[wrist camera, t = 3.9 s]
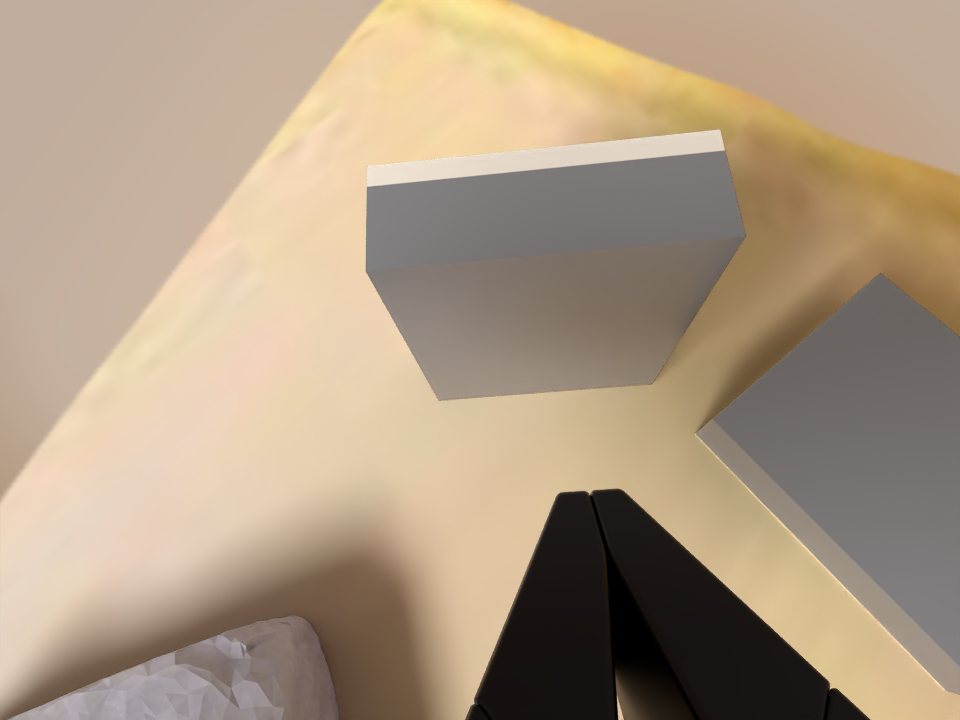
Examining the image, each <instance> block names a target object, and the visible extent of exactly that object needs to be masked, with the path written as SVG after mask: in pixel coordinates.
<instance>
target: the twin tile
mask: <svg viewBox="0 0 960 720" xmlns="http://www.w3.org/2000/svg"><path fill="white" fill-rule="evenodd" d="M695 435H696V436H697V437H698V438H699V439H700V440H701V441H702V442H703V443H704V444H705V445H706V446H707V447H708V448H709V449H710V450H711V452H712V453H713V454H714V455H715V456H716V457H717V458H718V459H719V460H720V461H721V462H722V463H723V464H724V465H725V466H726V467H727V468H728V469H729V470H730V471H731V472H732V473H733V474H734V475H735V476H736V477H737V478H738V479H739V480H740V481H741V482H742V483H743V484H744V485H745V486H746V487H747V488H748V489H749V490H750V491H751V492H752V493H753V494H754V496H755V497H756V498H757V499H758V500H759V501H760V502H761V503H762V504H763V505H764V506H765V507H766V508H767V509H768V510H769V511H770V512H771V513H772V514H773V515H774V516H775V517H776V518H777V519H778V520H779V521H780V522H781V523H782V524H783V525H784V526H785V527H786V528H787V529H788V530H789V531H790V532H791V533H792V534H793V535H794V536H795V537H796V538H797V540H798V541H799V542H800V543H801V544H802V545H803V546H804V547H805V548H806V549H807V550H808V551H809V552H810V553H811V554H812V555H813V556H814V557H815V558H816V559H817V560H818V561H819V562H820V563H821V564H822V565H823V566H824V567H825V568H826V569H827V570H828V571H829V572H830V573H831V574H832V575H833V576H834V577H835V578H836V579H837V580H838V581H839V582H840V584H841V585H842V586H843V587H844V588H845V589H846V590H847V591H848V592H849V593H850V594H851V595H852V596H853V597H854V598H855V599H856V600H857V601H858V602H859V603H860V604H861V605H862V606H863V607H864V608H865V609H866V610H867V611H868V612H869V613H870V614H871V615H872V616H873V617H874V618H875V619H876V620H877V621H878V622H879V623H880V624H881V625H882V626H883V628H884V629H885V630H886V631H887V632H888V633H889V634H890V635H891V636H892V637H893V638H894V639H895V640H896V641H897V642H898V643H899V644H900V645H901V646H902V647H903V648H904V649H905V650H906V651H907V652H908V653H909V654H910V655H911V656H912V657H913V658H914V659H915V660H916V661H917V662H918V663H919V664H920V665H921V666H922V667H923V668H924V669H925V670H926V672H927V673H928V674H929V675H930V676H931V677H932V678H933V679H934V680H935V681H936V682H937V683H938V684H939V685H940V686H941V687H942V688H943V689H944V690H946V691H949V692H953V693H956V694H959V695H960V336H958V335H957V334H956V333H955V332H953V331H952V330H951V329H950V328H948V327H947V326H946V325H945V324H943V323H942V322H941V321H940V320H938V319H937V318H936V317H935V316H933V315H932V314H931V313H930V312H928V311H927V310H926V309H925V308H923V307H922V306H921V305H920V304H918V303H917V302H916V301H915V300H913V299H912V298H911V297H910V296H908V295H907V294H906V293H905V292H903V291H902V290H901V289H900V288H898V287H897V286H896V285H895V284H893V283H892V282H891V281H890V280H888V279H887V278H886V277H885V276H883V275H882V274H881V273H880V274H878V275H877V276H876V277H875V278H874V279H873V280H871V281H870V282H869V283H868V284H867V285H865V286H864V287H863V288H862V289H861V290H860V291H858V292H857V293H856V294H855V295H854V296H853V297H851V298H850V299H849V300H848V301H847V302H845V303H844V304H843V305H842V306H841V307H840V308H839V309H837V310H836V311H835V312H834V313H833V314H832V315H831V316H829V317H828V318H827V319H826V320H825V321H824V322H823V323H821V324H820V325H819V326H818V327H817V328H816V329H815V330H813V331H812V332H811V333H810V334H809V335H808V336H806V337H805V338H804V339H803V340H802V341H801V342H800V343H798V344H797V345H796V346H795V347H794V348H793V349H792V350H790V351H789V352H788V353H787V354H786V355H785V356H784V357H782V358H781V359H780V360H779V361H778V362H777V363H776V364H774V365H773V366H772V367H771V368H770V369H769V370H768V371H766V372H765V373H764V374H763V375H762V376H761V377H759V378H758V379H757V380H756V381H755V382H754V383H753V384H751V385H750V386H749V387H748V388H747V389H746V390H745V391H743V392H742V393H741V394H740V395H739V396H738V397H737V398H735V399H734V400H733V401H732V402H731V403H730V404H729V405H727V406H726V407H725V408H724V409H723V410H722V411H720V412H719V413H718V414H717V415H716V416H715V417H714V418H712V419H711V420H710V421H709V422H708V423H707V424H706V425H704V426H703V427H702V428H701V429H700V430H699V431H698V432H696V433H695Z"/></svg>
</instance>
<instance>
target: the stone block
mask: <svg viewBox="0 0 960 720" xmlns="http://www.w3.org/2000/svg"><path fill="white" fill-rule="evenodd" d="M5 720H339V708H338V704H337V702H336V693H335V689H334V685H333V683H332V679H331V675H330V672H329V668H328V665H327V662H326V659H325V657H324V654H323V651H322V649H321V646H320V641H319V637H318V635H317V634H316V632H315V631H314V629H313V627H312V625H311V624H310V623H309V622H308V621H307V620H306V619H304V618H302V617H299V616H294V615H290V616H287V617H283V618H272V619H269V620H266V621H265V620H261V621H257V622H254V623H252V624H249V625H246V626H242V627H239V628H236V629H231V630H227V631H225V632H223V633H221V634H219V635H216V636H214V637H211V638H209V639H206V640H203V641H200V642H197V643H195V644H192V645H189V646H186V647H183V648H181V649H178V650H175V651H173V652H170V653H167V654H165V655H162V656H159V657H156V658H154V659H151V660H148V661H146V662H144V663H141V664H139V665H136V666H134V667H131V668H128V669H126V670H123V671H121V672H118V673H116V674H113V675H111V676H108V677H106V678H103V679H101V680H98V681H96V682H94V683H91V684H89V685H87V686H84V687H82V688H80V689H77V690H75V691H73V692H70V693H68V694H66V695H64V696H61V697H59V698H57V699H55V700H53V701H50V702H48V703H46V704H44V705H41V706H39V707H36V708H34V709H31V710H29V711H26V712H23V713H21V714H18V715H16V716H13V717H10V718H8V719H5Z"/></svg>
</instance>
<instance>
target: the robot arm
mask: <svg viewBox="0 0 960 720" xmlns="http://www.w3.org/2000/svg"><path fill="white" fill-rule="evenodd" d="M617 696H618V700H619V703H620V707H621V710H622V714H623V718H624V720H870V719H869V718H868V717H867V716H866V715H865V714H864V713H863V712H862V711H860V710H859V709H858V708H857V707H856V706H855V705H854V704H853V703H852V702H851V701H850V700H849V699H848V698H846V697H845V696H844V695H843V694H842V693H841V692H840V691H839V690H838V689H836V688H832V689H830V683H829V681H828V680H827V679H826V678H825V677H823V676H822V675H821V674H820V673H819V672H818V671H817V670H816V669H815V668H814V667H813V666H812V665H811V664H809V663H808V662H807V661H806V660H805V659H804V658H803V657H802V656H801V655H800V654H799V653H798V652H797V651H795V650H794V649H793V648H792V647H791V646H790V645H789V644H788V643H787V642H786V641H785V640H784V639H783V638H781V637H780V636H779V635H778V634H777V633H776V632H775V631H774V630H773V629H772V628H771V627H770V626H769V625H767V624H766V623H765V622H764V621H763V620H762V619H761V618H760V617H759V616H758V615H757V614H756V613H755V612H754V611H752V610H751V609H750V608H749V607H748V606H747V605H746V604H745V603H744V602H743V601H742V600H741V599H740V598H738V597H737V596H736V595H735V594H734V593H733V592H732V591H731V590H730V589H729V588H728V587H727V586H726V585H724V584H723V583H722V582H721V581H720V580H719V579H718V578H717V577H716V576H715V575H714V574H713V573H712V572H710V571H709V570H708V569H707V568H706V567H705V566H704V565H703V564H702V563H701V562H700V561H699V560H698V559H696V558H695V557H694V556H693V555H692V554H691V553H690V552H689V551H688V550H687V549H686V548H685V547H684V546H683V545H681V544H680V543H679V542H678V541H677V540H676V539H675V538H674V537H673V536H672V535H671V534H670V533H669V532H667V531H666V530H665V529H664V528H663V527H662V526H661V525H660V524H659V523H658V522H657V521H656V520H655V519H653V518H652V517H651V516H650V515H649V514H648V513H647V512H646V511H645V510H644V509H643V508H642V507H641V506H639V505H638V504H637V503H636V502H635V501H634V500H633V499H632V498H631V497H630V496H629V495H628V494H627V493H625V492H624V491H623V490H621V489H605V490H594V491H592V492H591V494H590V495H589V493H588V492H586V491H575V492H562V493H559V494H558V495H557V496H556V498H555V501H554V503H553V506H552V508H551V511H550V513H549V516H548V518H547V521H546V523H545V525H544V528H543V530H542V533H541V535H540V538H539V540H538V543H537V545H536V548H535V550H534V553H533V555H532V557H531V560H530V562H529V565H528V567H527V570H526V572H525V575H524V577H523V580H522V582H521V585H520V587H519V590H518V592H517V594H516V597H515V599H514V602H513V604H512V607H511V609H510V612H509V614H508V617H507V619H506V622H505V624H504V626H503V629H502V631H501V634H500V636H499V639H498V641H497V644H496V646H495V649H494V651H493V654H492V656H491V659H490V661H489V663H488V666H487V668H486V671H485V673H484V676H483V678H482V681H481V683H480V686H479V688H478V691H477V693H476V695H475V698H474V703H475V704H473V705H472V706H471V707H470V709H469V712H468V714H467V717H466V719H465V720H618V709H617Z"/></svg>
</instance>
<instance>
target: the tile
mask: <svg viewBox="0 0 960 720" xmlns="http://www.w3.org/2000/svg"><path fill="white" fill-rule="evenodd" d="M745 237H746V235H745V230H744V226H743V222H742V218H741V214H740V210H739V206H738V202H737V198H736V193H735V189H734V185H733V181H732V177H731V173H730V169H729V165H728V161H727V156H726V152H725V148H724V144H723V140H722V136H721V132H720V130H710V131H701V132H691V133H681V134H672V135H662V136H653V137H643V138H633V139H624V140H614V141H604V142H595V143H585V144H576V145H566V146H556V147H547V148H537V149H527V150H518V151H508V152H498V153H489V154H479V155H470V156H460V157H450V158H441V159H431V160H421V161H412V162H402V163H393V164H383V165H373V166H367V216H366V272H367V274H368V276H369V278H370V280H371V281H372V283H373V285H374V287H375V288H376V290H377V292H378V294H379V296H380V297H381V299H382V301H383V303H384V304H385V306H386V308H387V310H388V311H389V313H390V315H391V317H392V319H393V320H394V322H395V324H396V326H397V327H398V329H399V331H400V333H401V335H402V336H403V338H404V340H405V342H406V343H407V345H408V347H409V349H410V351H411V352H412V354H413V356H414V358H415V359H416V361H417V363H418V365H419V366H420V368H421V370H422V372H423V374H424V375H425V377H426V379H427V381H428V382H429V384H430V386H431V388H432V390H433V391H434V393H435V395H436V397H437V398H438V400H439V401H441V400H454V399H467V398H480V397H493V396H505V395H518V394H531V393H544V392H557V391H570V390H583V389H596V388H609V387H621V386H634V385H647V384H652V383H653V381H654V380H655V378H656V377H657V375H658V374H659V372H660V370H661V369H662V367H663V366H664V364H665V363H666V361H667V359H668V358H669V356H670V355H671V353H672V352H673V350H674V348H675V347H676V345H677V344H678V342H679V341H680V339H681V337H682V336H683V334H684V333H685V331H686V329H687V328H688V326H689V325H690V323H691V322H692V320H693V318H694V317H695V315H696V314H697V312H698V311H699V309H700V307H701V306H702V304H703V303H704V301H705V300H706V298H707V296H708V295H709V293H710V292H711V290H712V289H713V287H714V285H715V284H716V282H717V281H718V279H719V278H720V276H721V274H722V273H723V271H724V270H725V268H726V267H727V265H728V263H729V262H730V260H731V259H732V257H733V256H734V254H735V252H736V251H737V249H738V248H739V246H740V244H741V243H742V241H743V240H744V238H745Z"/></svg>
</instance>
